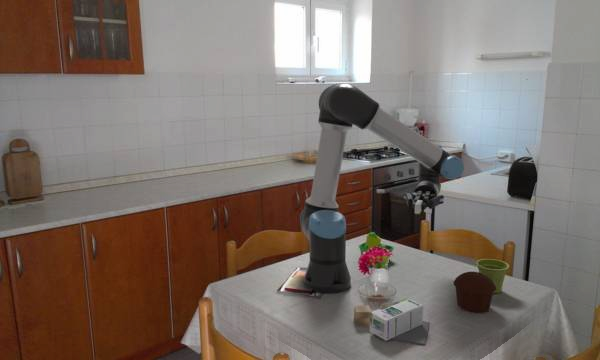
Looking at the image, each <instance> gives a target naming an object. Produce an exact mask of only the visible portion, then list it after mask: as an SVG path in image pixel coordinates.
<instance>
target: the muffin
mask: <svg viewBox="0 0 600 360" xmlns="http://www.w3.org/2000/svg"><path fill="white" fill-rule="evenodd" d="M453 286H454V288H455V293H456V304H457V307H459V308H460V309H461V310H463V311H465V312H468V313H472V314H483V313H488V312H489V310H490V308H491V304H492V299H493V295H494V293H493V292H494V291H495V290H496V286H495V284H494V282H493V281H492V279H490V278H489V277H488V276H486V275H484V274H482V273H479V271H465V272H463V273H461V274H459V275H457V277H455V279H454V280H453Z"/></svg>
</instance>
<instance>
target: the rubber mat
mask: <svg viewBox="0 0 600 360" xmlns="http://www.w3.org/2000/svg"><path fill="white" fill-rule="evenodd" d="M429 327H430V321H425V320H423V321H422V325H420V326H418V327H416V328H413V329H411V330H409V331H407V332H404V333H402V334H400V335H398V336H396V337H393V338H391V339H389V340H390V341H397V342H403V343H410V344H415V345H420V346H425V345H426V340H427V336H428V332H429ZM376 338H379V339H381V338H380V337H378V336H377V335H376Z"/></svg>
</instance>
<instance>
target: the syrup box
mask: <svg viewBox="0 0 600 360" xmlns="http://www.w3.org/2000/svg"><path fill="white" fill-rule="evenodd" d="M423 317H424V305H423V304H421V303H419V302H416V301H415V300H413V299H410V298H408V297H406V298H403V299H401V300H398V301H396V302H393V303H391V304H388V305H385V306H383V307H380V308H378V309H376V310H373V311H372V310H371V313H370V326H369V332H370V333H371V334H374V335H375V336H376V337H377V336H378V337H380V338H379V339H382V340H383V341H389V340H390V339H391V338H393V337H396V336H398V335H400V334H402V333H404V332H407V331H409V330H411V329H413V328H416V327H418V326H420V325H422V321H424V320H423V319H424V318H423ZM378 337H377V338H378Z"/></svg>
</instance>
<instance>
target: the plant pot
mask: <svg viewBox="0 0 600 360" xmlns="http://www.w3.org/2000/svg"><path fill="white" fill-rule="evenodd" d="M476 266H477V269H478V272H479V273H482V274H484V275H486V276H488V277H489V278H490V279H492V281H493V282H494V284H495V286H496V290H495V291H494V292H493V294H495V293H496V294H500V293H501V292H502V290H503V286H504V280H505V276H506V273H507V271H508V270H509V268H510V265H509V264H508V263H507V262H505V261H503V260H498V259H493V258H482V259H478V260H477V261H476Z"/></svg>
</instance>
